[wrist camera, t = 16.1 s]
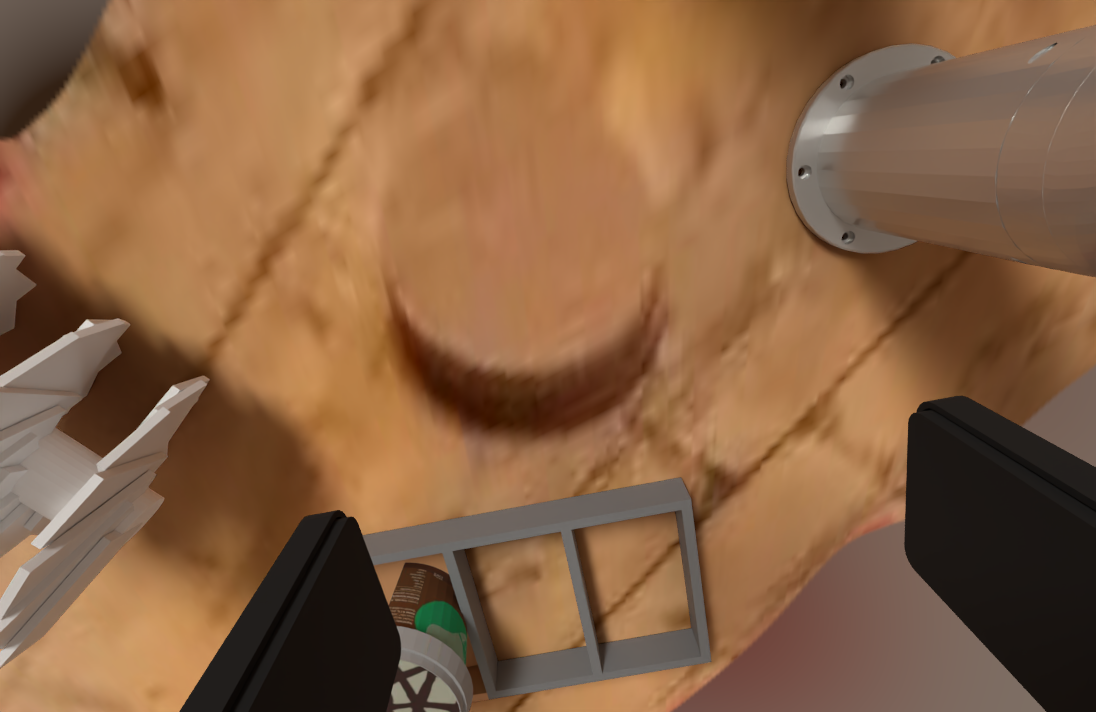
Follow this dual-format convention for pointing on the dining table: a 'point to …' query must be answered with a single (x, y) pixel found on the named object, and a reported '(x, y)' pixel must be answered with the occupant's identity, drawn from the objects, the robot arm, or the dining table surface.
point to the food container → (429, 644)
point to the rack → (593, 661)
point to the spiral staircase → (68, 469)
